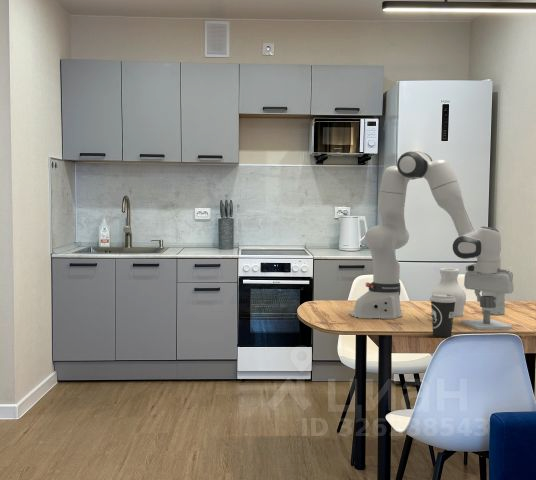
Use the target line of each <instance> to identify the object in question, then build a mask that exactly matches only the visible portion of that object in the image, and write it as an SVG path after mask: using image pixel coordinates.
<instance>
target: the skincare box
mask: <svg viewBox="0 0 536 480" xmlns="http://www.w3.org/2000/svg"><path fill="white" fill-rule="evenodd" d="M481 296H495V297H497V295H496V292H488V291H481ZM505 296H506V294H504V293H502V296H501V298H500V299H499V304H496V308H484V307H481V313H483V311H484V310H488V311H490V315H495V316H498V315H505V313H506V310H505V309H506V305H505V302H506V301H505Z"/></svg>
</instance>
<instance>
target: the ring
mask: <svg viewBox="0 0 536 480" xmlns="http://www.w3.org/2000/svg"><path fill="white" fill-rule="evenodd" d="M494 299H496V297H495V296H482V295H481V296H480V302H479V307H481V308H482V307H484V308H496V304H494Z"/></svg>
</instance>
